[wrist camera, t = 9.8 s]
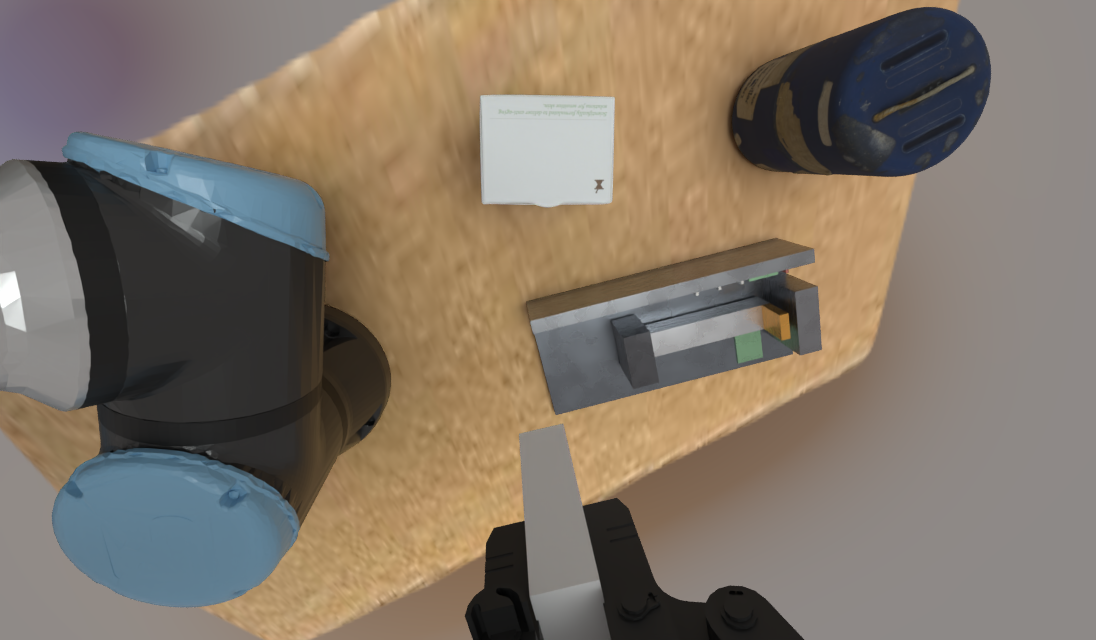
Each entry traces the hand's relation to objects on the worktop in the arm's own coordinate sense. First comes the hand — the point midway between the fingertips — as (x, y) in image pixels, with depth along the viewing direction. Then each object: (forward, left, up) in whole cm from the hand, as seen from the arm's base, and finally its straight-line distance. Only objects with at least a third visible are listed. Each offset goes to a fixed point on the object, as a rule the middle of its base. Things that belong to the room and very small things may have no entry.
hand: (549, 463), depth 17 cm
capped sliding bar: (+15, -9, -31) cm, 35 cm away
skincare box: (+4, +10, -33) cm, 34 cm away
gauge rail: (+12, -9, -32) cm, 36 cm away
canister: (+26, +8, -33) cm, 42 cm away
